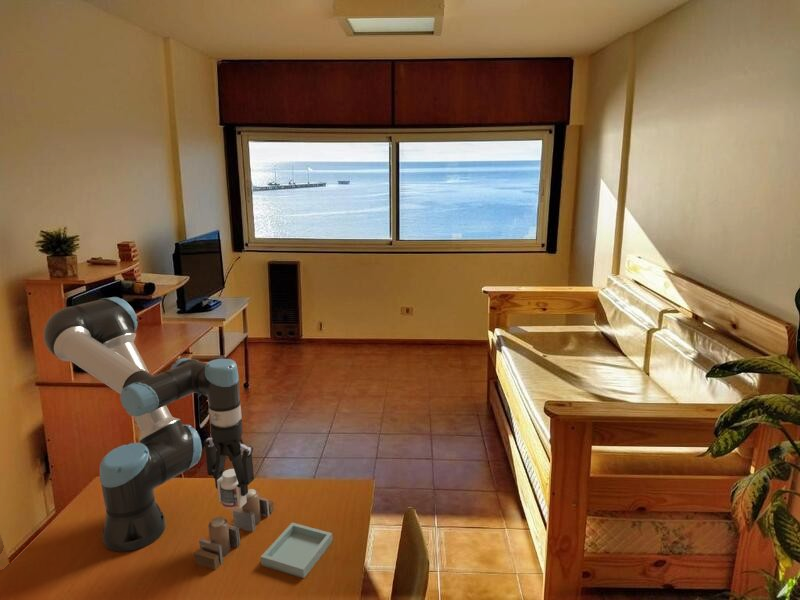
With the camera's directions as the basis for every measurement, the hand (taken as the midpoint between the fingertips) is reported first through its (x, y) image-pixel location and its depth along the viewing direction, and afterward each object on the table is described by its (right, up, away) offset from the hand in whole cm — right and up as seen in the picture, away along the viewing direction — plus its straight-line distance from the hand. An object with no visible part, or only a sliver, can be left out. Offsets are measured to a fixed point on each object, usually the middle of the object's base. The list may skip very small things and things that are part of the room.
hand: (232, 502), depth 149 cm
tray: (+18, -11, -4) cm, 21 cm away
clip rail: (0, -10, +2) cm, 10 cm away
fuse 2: (+3, -8, +8) cm, 12 cm away
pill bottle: (0, -1, 0) cm, 1 cm away
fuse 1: (-2, -11, -3) cm, 12 cm away
